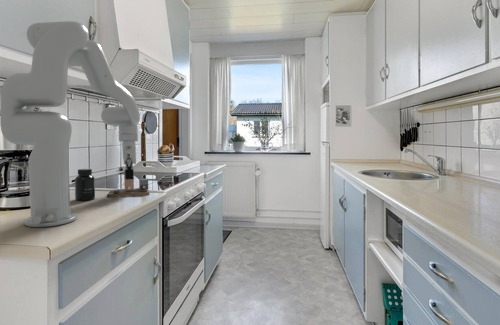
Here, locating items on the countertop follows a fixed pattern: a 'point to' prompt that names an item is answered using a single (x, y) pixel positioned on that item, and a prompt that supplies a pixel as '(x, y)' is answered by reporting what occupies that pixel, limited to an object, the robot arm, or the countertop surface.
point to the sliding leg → (128, 183)
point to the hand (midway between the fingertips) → (129, 177)
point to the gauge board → (135, 192)
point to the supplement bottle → (84, 185)
